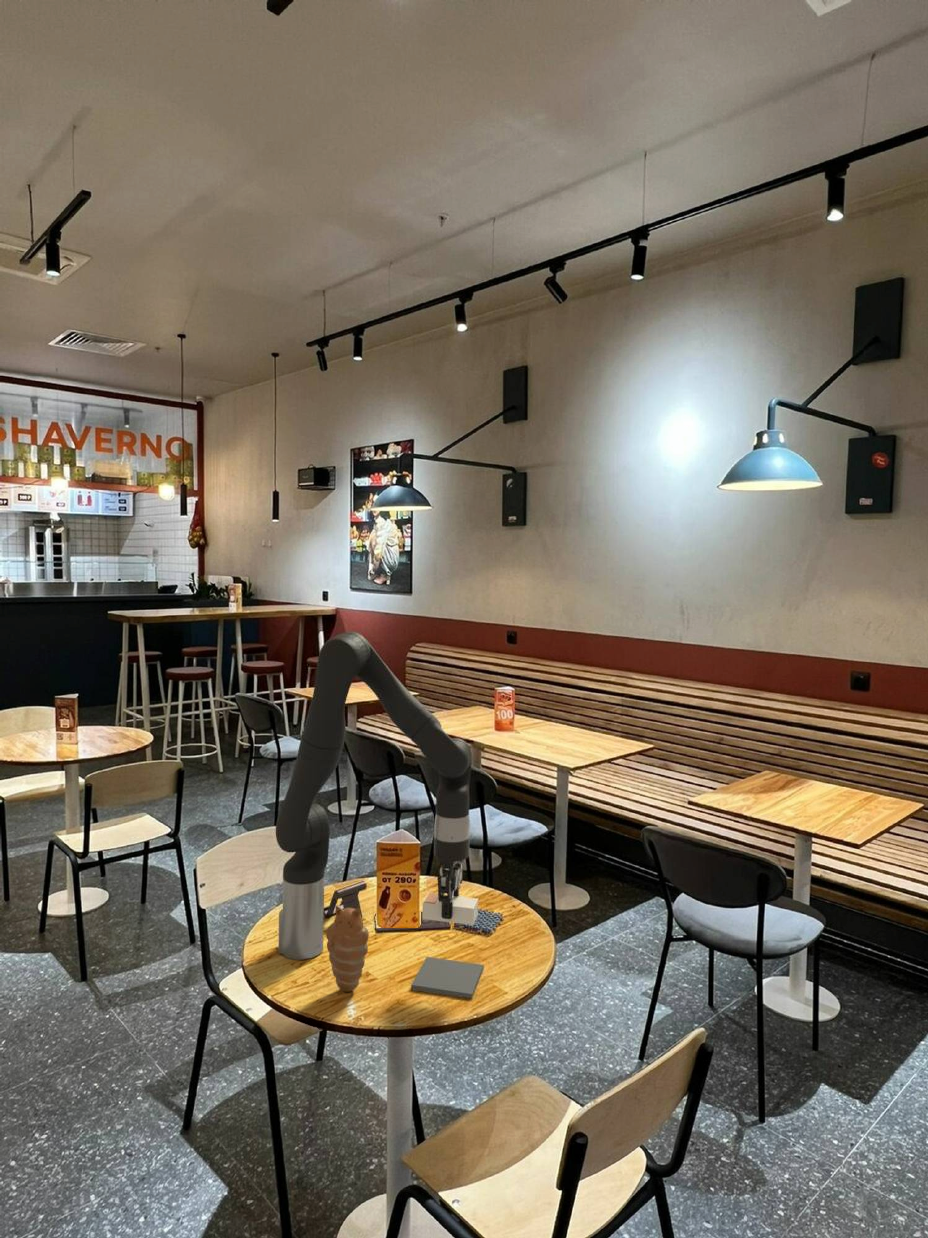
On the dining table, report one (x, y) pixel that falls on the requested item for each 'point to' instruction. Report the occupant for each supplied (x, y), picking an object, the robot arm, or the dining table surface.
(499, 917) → the woven mat
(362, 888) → the portable electronic device stand
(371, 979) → the dining table surface
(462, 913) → the block with tan end
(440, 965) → the rubber mat
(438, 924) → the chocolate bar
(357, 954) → the cat ice cream
